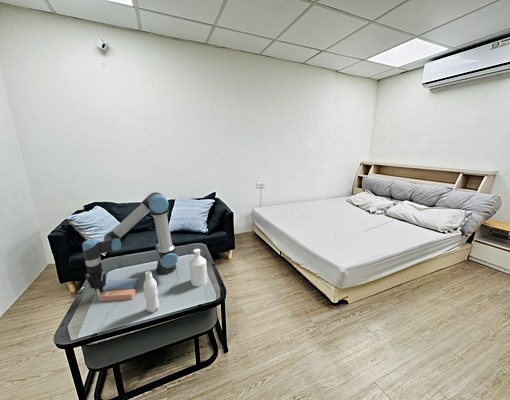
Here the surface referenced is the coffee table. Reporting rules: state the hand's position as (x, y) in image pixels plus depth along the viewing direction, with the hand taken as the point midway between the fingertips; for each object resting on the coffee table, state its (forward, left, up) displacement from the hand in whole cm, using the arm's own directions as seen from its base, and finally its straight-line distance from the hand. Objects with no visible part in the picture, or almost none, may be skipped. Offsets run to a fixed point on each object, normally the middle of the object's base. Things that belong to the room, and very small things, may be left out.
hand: (100, 296), depth 140 cm
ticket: (-7, -10, -1) cm, 12 cm away
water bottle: (-38, +14, -2) cm, 41 cm away
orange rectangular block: (-11, 0, -1) cm, 11 cm away
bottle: (-61, -12, -2) cm, 63 cm away
